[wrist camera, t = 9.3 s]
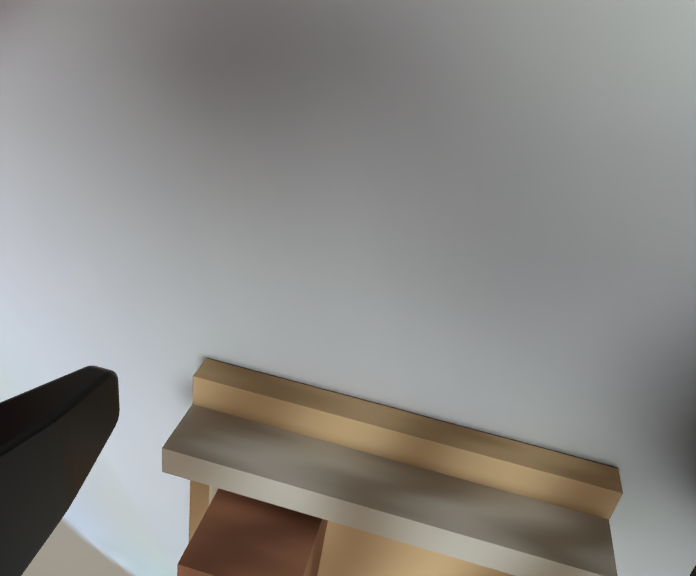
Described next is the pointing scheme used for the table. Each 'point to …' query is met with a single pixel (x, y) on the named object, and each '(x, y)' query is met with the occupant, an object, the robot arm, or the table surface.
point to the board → (393, 482)
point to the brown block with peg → (253, 540)
